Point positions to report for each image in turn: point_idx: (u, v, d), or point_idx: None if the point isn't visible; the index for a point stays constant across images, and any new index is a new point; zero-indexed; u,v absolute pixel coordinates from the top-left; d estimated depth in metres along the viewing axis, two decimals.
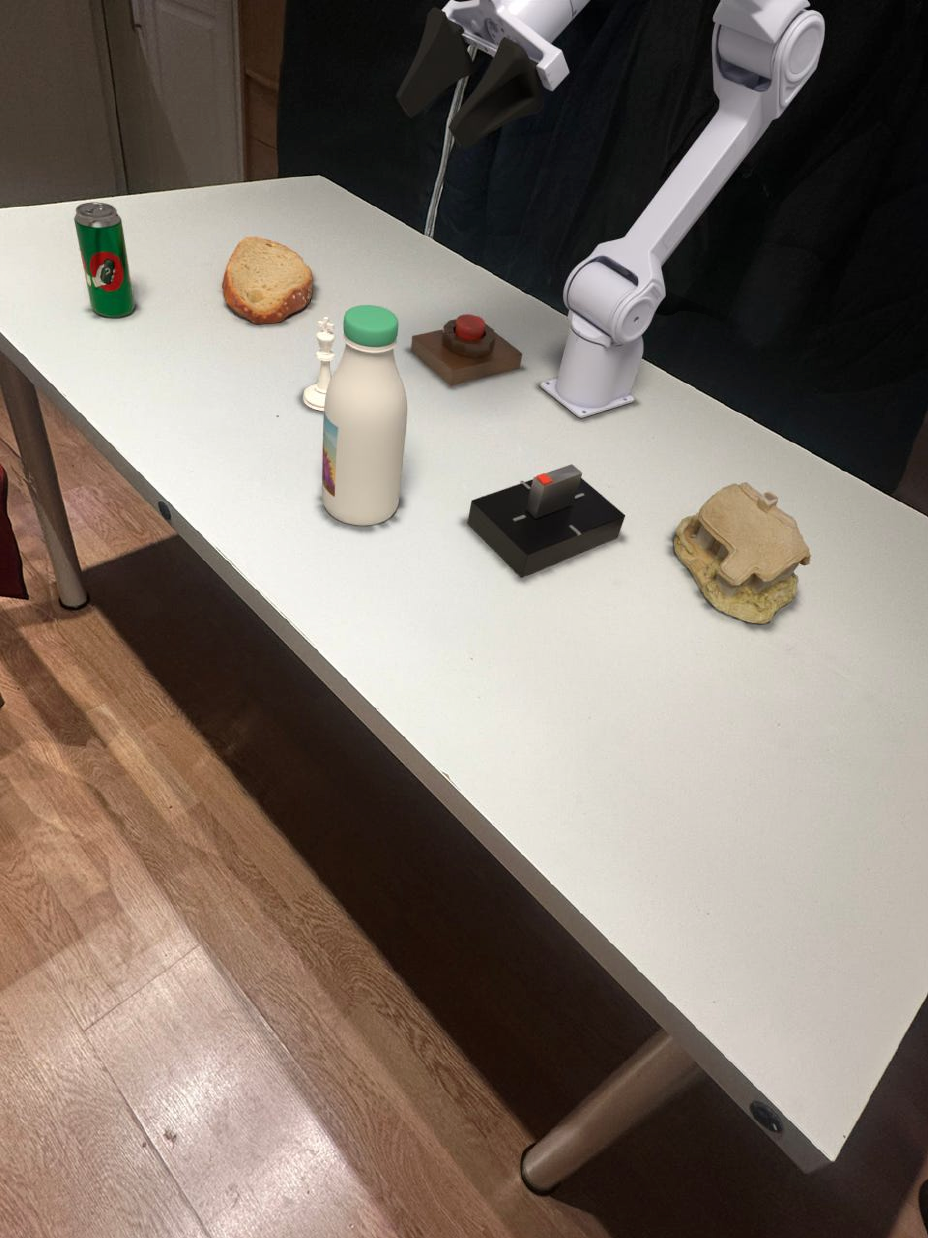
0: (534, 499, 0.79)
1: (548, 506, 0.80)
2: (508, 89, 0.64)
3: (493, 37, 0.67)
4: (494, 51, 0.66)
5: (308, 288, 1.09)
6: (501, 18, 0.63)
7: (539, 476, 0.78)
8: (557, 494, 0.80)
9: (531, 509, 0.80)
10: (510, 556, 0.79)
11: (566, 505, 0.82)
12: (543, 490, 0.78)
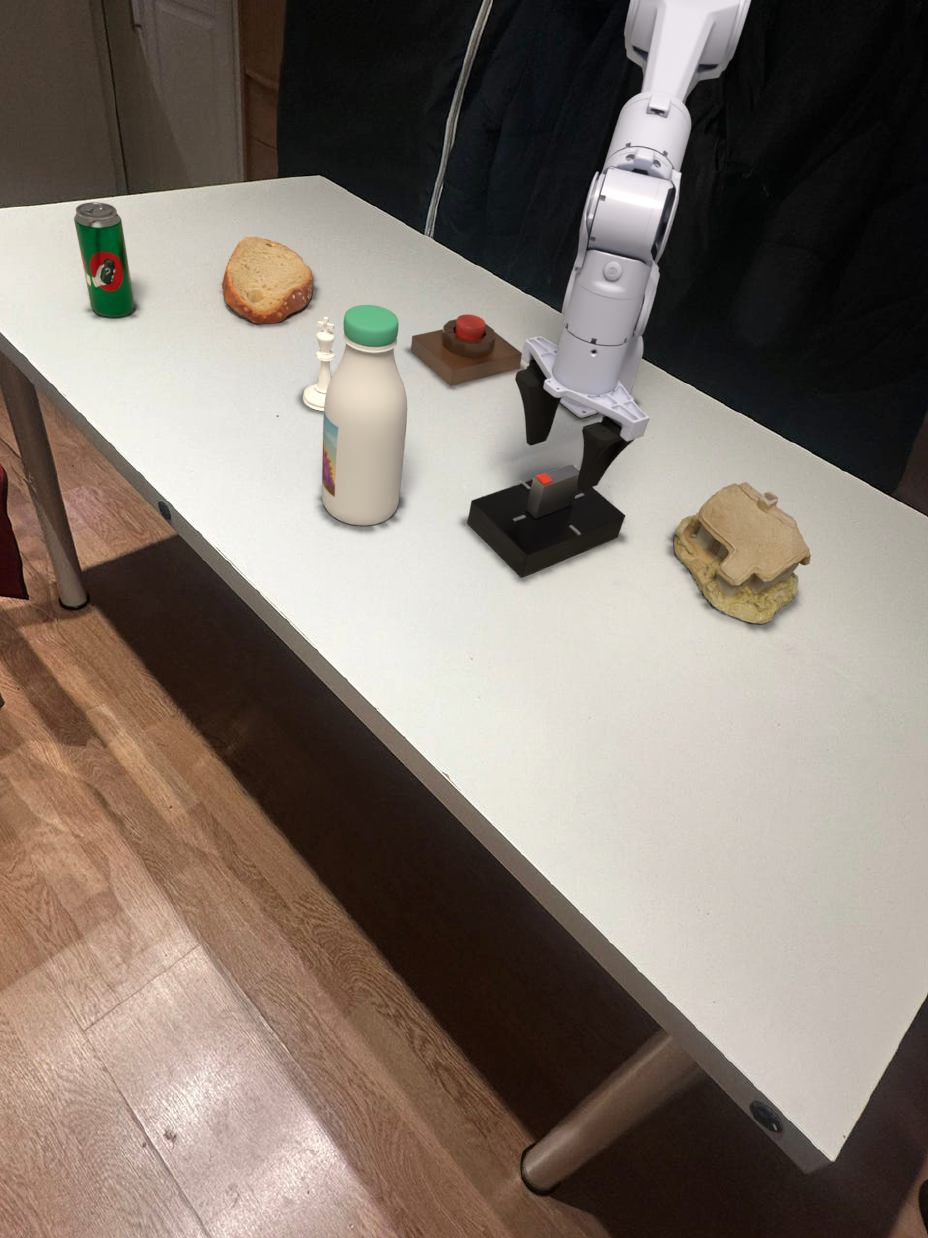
0: (534, 499, 0.79)
1: (548, 506, 0.80)
2: None
3: None
4: None
5: (308, 288, 1.09)
6: (573, 400, 0.70)
7: (539, 476, 0.78)
8: (557, 494, 0.80)
9: (531, 509, 0.80)
10: (510, 556, 0.79)
11: (566, 505, 0.82)
12: (543, 490, 0.78)
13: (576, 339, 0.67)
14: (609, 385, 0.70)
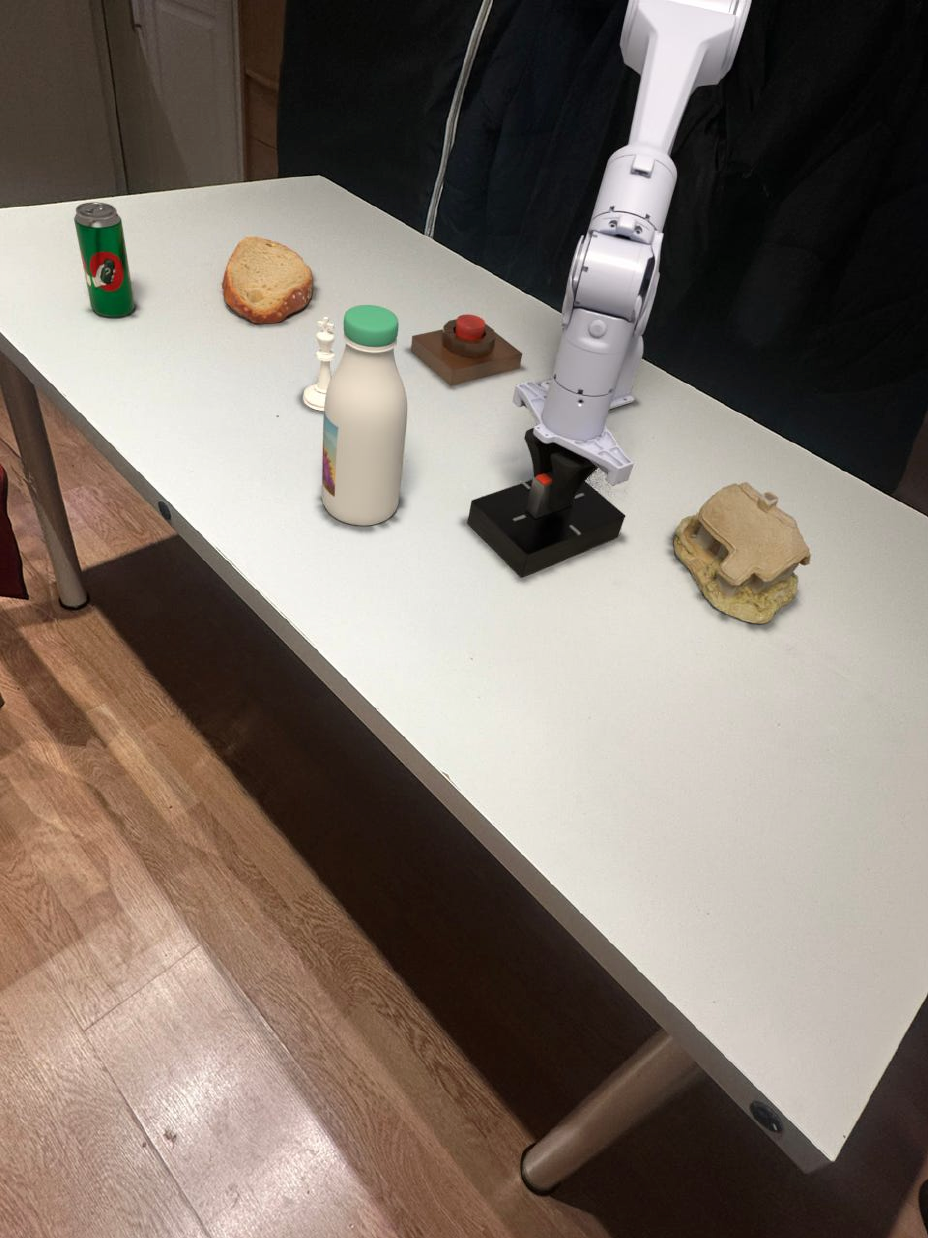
0: (534, 499, 0.79)
1: (548, 506, 0.80)
2: None
3: None
4: None
5: (308, 288, 1.09)
6: (561, 445, 0.73)
7: (539, 476, 0.78)
8: None
9: (531, 509, 0.80)
10: (510, 556, 0.79)
11: None
12: (543, 490, 0.78)
13: (563, 389, 0.70)
14: (595, 431, 0.73)
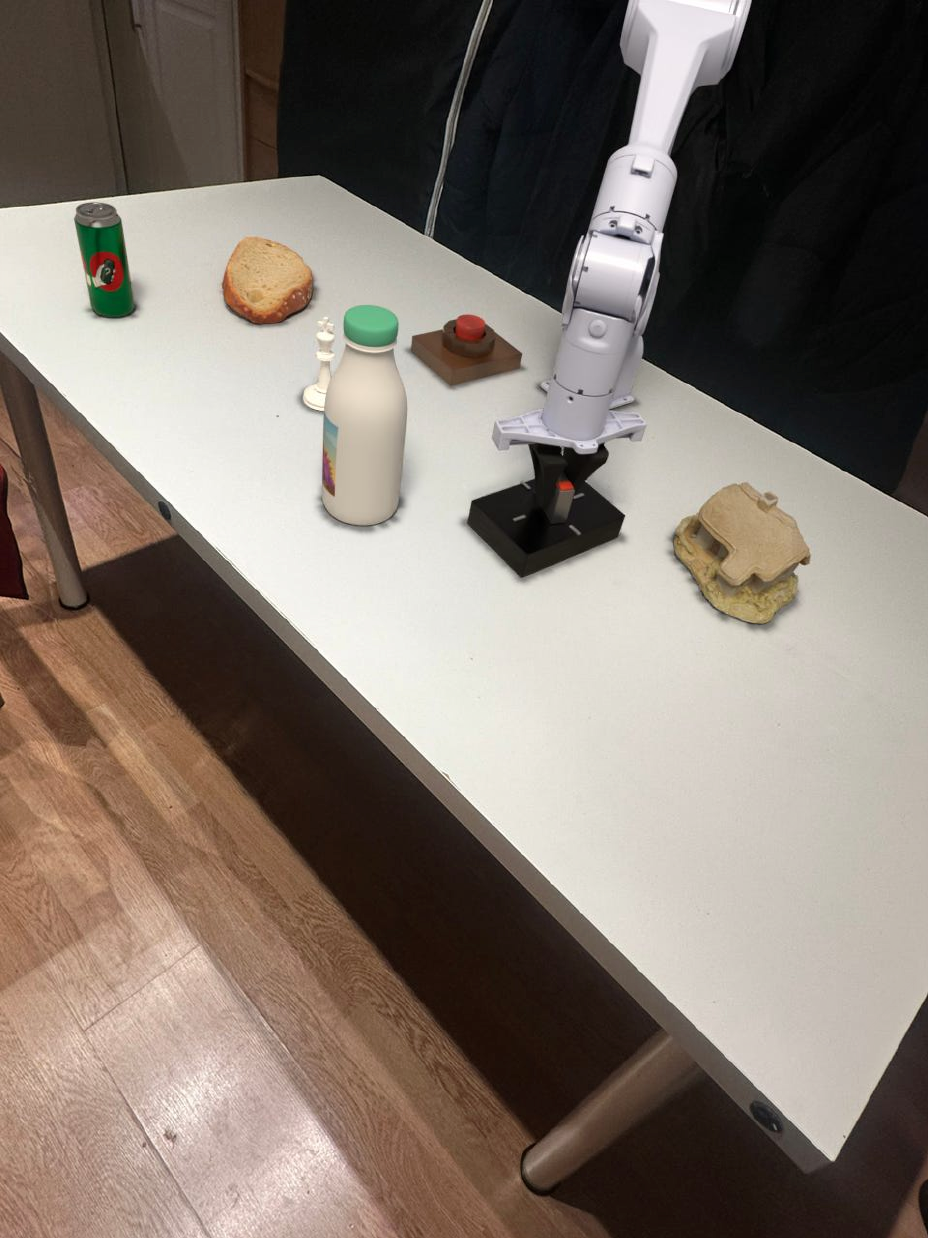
0: (563, 508, 0.79)
1: None
2: None
3: None
4: None
5: (308, 288, 1.09)
6: (597, 444, 0.74)
7: (563, 486, 0.77)
8: None
9: (559, 519, 0.80)
10: (510, 556, 0.79)
11: None
12: (573, 493, 0.78)
13: (602, 397, 0.70)
14: None
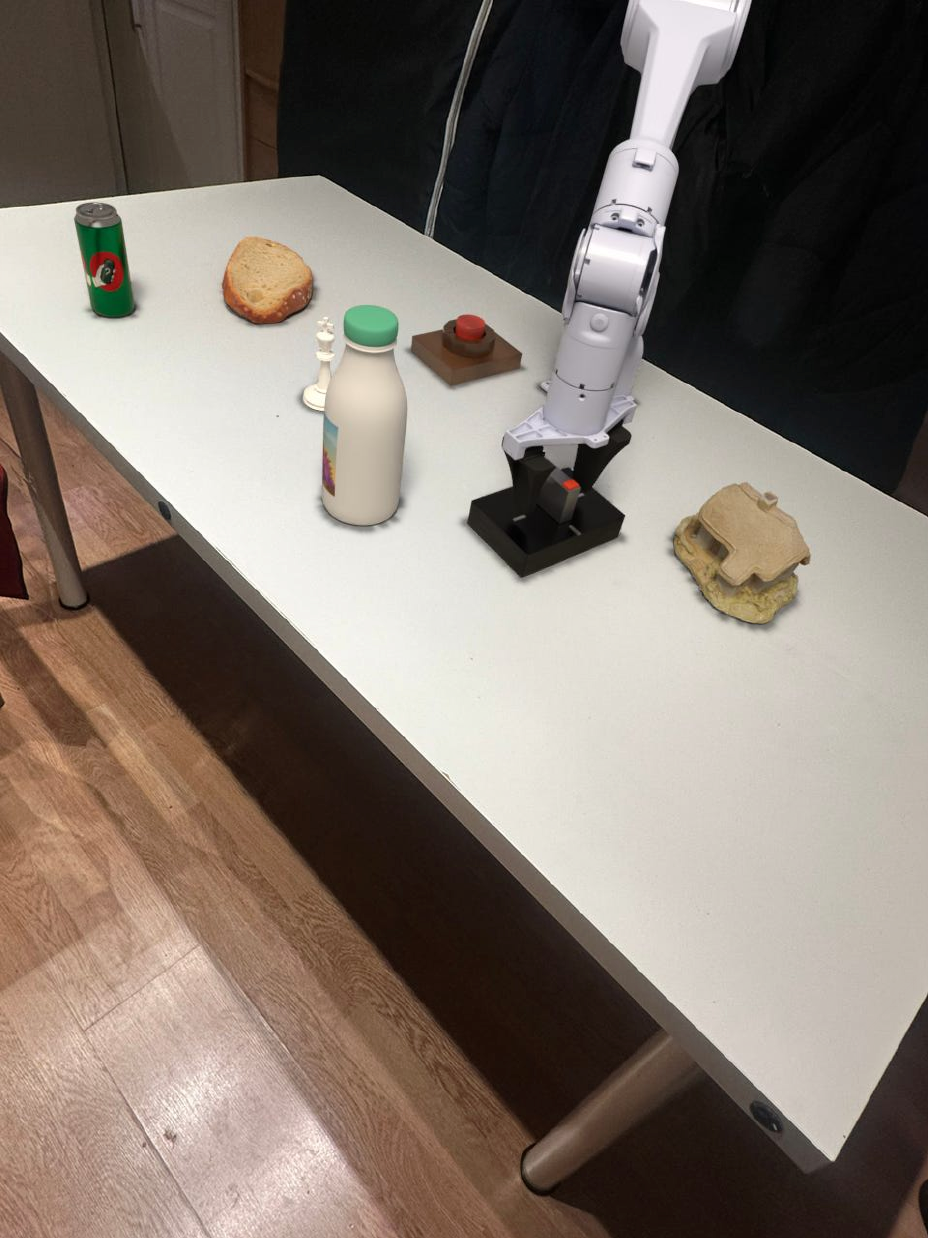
0: (570, 506, 0.79)
1: None
2: None
3: None
4: None
5: (308, 288, 1.09)
6: None
7: (570, 486, 0.78)
8: None
9: (566, 517, 0.80)
10: (510, 556, 0.79)
11: None
12: (579, 490, 0.79)
13: (611, 389, 0.70)
14: None
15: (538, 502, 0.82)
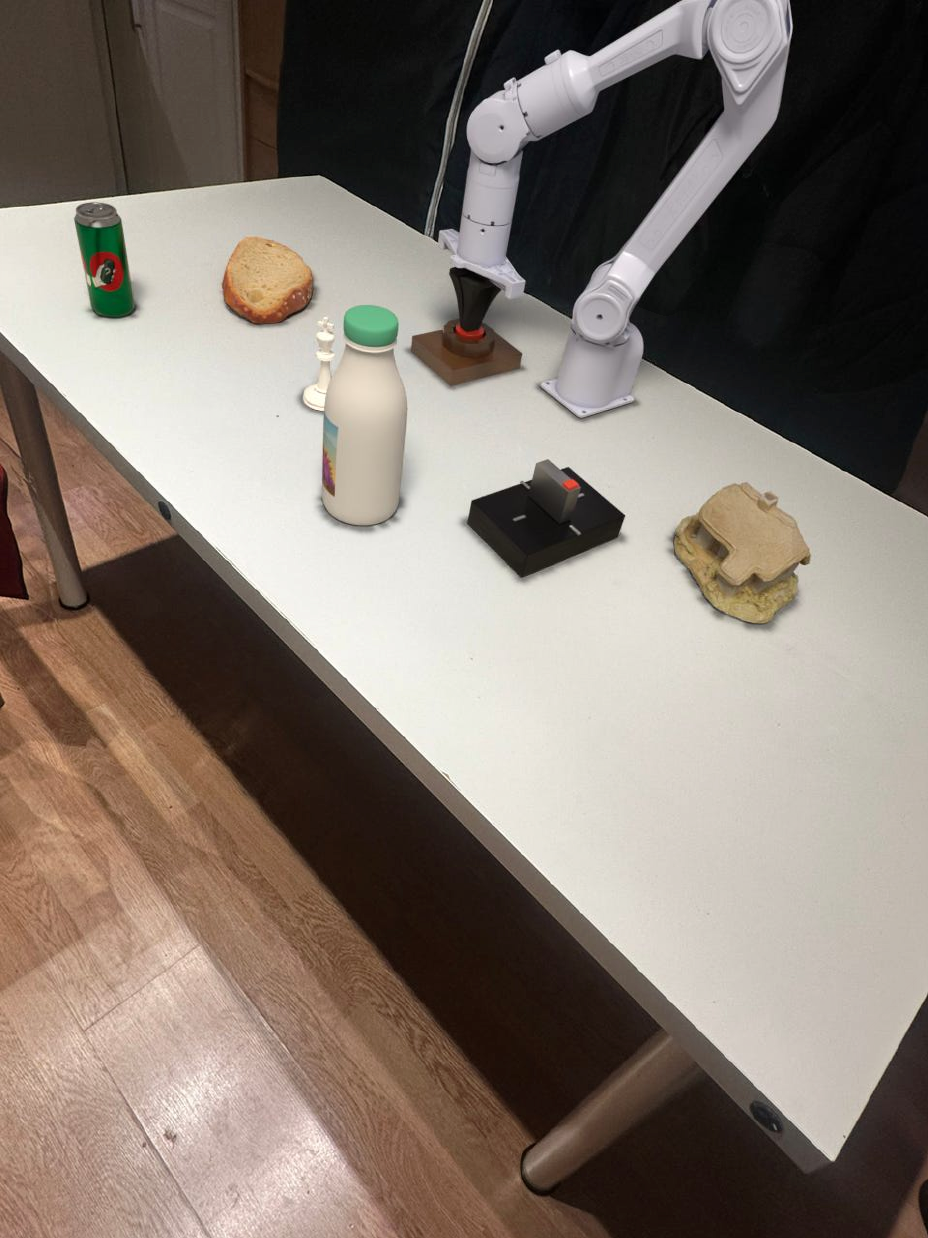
0: (570, 506, 0.79)
1: None
2: (481, 289, 0.98)
3: None
4: None
5: (308, 288, 1.09)
6: (471, 270, 0.94)
7: (570, 486, 0.78)
8: None
9: (566, 517, 0.80)
10: (510, 556, 0.79)
11: None
12: (579, 490, 0.79)
13: (469, 221, 0.91)
14: (497, 258, 0.94)
15: (538, 502, 0.82)
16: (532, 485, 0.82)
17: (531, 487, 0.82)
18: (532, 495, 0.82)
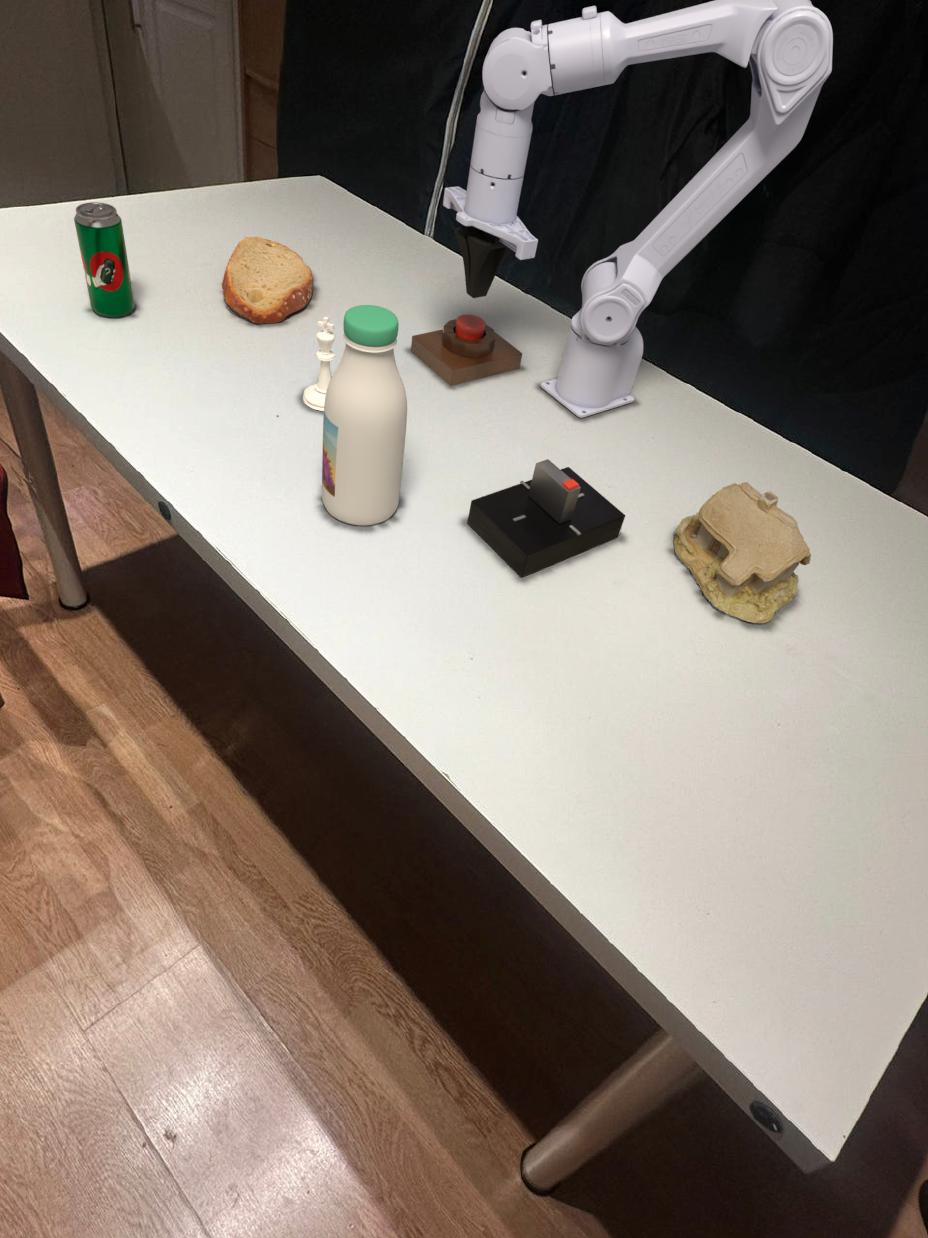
0: (570, 506, 0.79)
1: None
2: (489, 250, 0.92)
3: None
4: None
5: (308, 288, 1.09)
6: (479, 228, 0.88)
7: (570, 486, 0.78)
8: None
9: (566, 517, 0.80)
10: (510, 556, 0.79)
11: None
12: (579, 490, 0.79)
13: (478, 174, 0.84)
14: (507, 216, 0.87)
15: (538, 502, 0.82)
16: (532, 485, 0.82)
17: (531, 487, 0.82)
18: (532, 495, 0.82)
